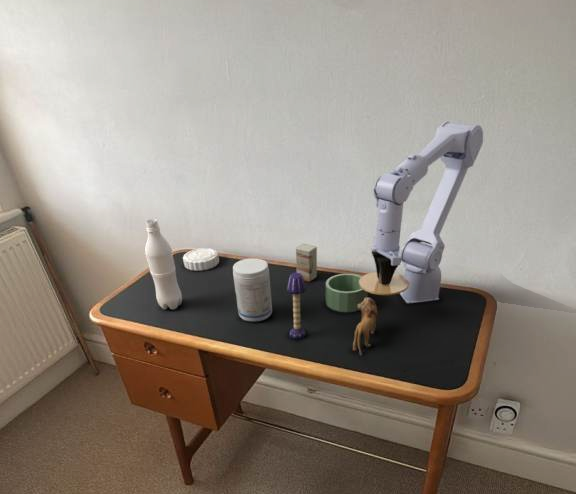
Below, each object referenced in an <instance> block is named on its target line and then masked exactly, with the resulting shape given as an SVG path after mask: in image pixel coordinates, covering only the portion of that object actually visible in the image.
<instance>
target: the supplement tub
mask: <svg viewBox="0 0 576 494" xmlns="http://www.w3.org/2000/svg"><path fill="white" fill-rule="evenodd" d="M232 276H233V285H234V292H235V297H236V305H237V306H236V307H237V313H238V316H239V317H240V318H241V319H242V320H243V321H246V322H249V323H250V322H251V323H256V322H262V321H265V320H266V319H267V320H268V319H269V317H270V316H272V313H273V302H272V301H273V300H272V291H271V279H270V268H269V263H268V262H267V261H266V260H264V259H261V258H255V257H253V258H251V257H250V258H245V259H240V260H238V261H237V262H235V263H234V264H233V266H232Z"/></svg>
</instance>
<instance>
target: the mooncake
mask: <svg viewBox="0 0 576 494" xmlns="http://www.w3.org/2000/svg"><path fill="white" fill-rule="evenodd" d="M182 261H183V265H184V268H185V269H187V270H189V271H196V272H198V271H201V272H202V271H208V270H210V269H213V268H215V267H216V266H218V265H219V263H220V257H219V252H218V250H216V249H213V248H209V247H204V248H195V249H191V250H189V251H188V252H186V253H184V254H183V256H182Z"/></svg>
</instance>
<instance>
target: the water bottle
mask: <svg viewBox="0 0 576 494" xmlns="http://www.w3.org/2000/svg"><path fill="white" fill-rule="evenodd" d="M145 226H146V233H147V239H146V243H145V247H144V254H145V257H146V260H147V264H148V268H149V273H150V275H151V277H152V280H153V283H154V288H155V296H156V297H155V298H156V301H157V304H158V305H159V307H160V308H161V309H162V310H168V308H169V310H176V309H177V308H178V306H181V305H182V303H183V302H182V301H183V293H182V290H181V288H180V286H179V283H178V280H177V271H176V265H175V264H176V263H175V260H174V256H173V250H172V246H171V244H170V243H169V242H168V241H167V239H166V238H165V237H164V236H163V234H162V233H161V227H160V225H159V222H158V219H157V218H150V219H147V220H145Z"/></svg>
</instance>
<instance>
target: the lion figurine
mask: <svg viewBox="0 0 576 494" xmlns="http://www.w3.org/2000/svg"><path fill="white" fill-rule="evenodd" d="M357 306H358V308H359V309H360V310H359V311H360V312H361V320H360V322H358V324H357V325H356V329H355V330H354V339H353V343H352V351H358V352H359V355H360V356H363V350H362V349H361V348H362V347H361V335H362V337H363V339H364V345H365V347H366V348H369V347H370V346H372V345H371V343H369V341H370V334H372V335H374V334H375V330H376V326H377V321H378V314H379V313H378V306H377V303H376V301H375V300H374V299H373V298H372V297H369V296H368V297H367V298H364V301H363V302H362V303H359V304H358V305H357Z"/></svg>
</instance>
